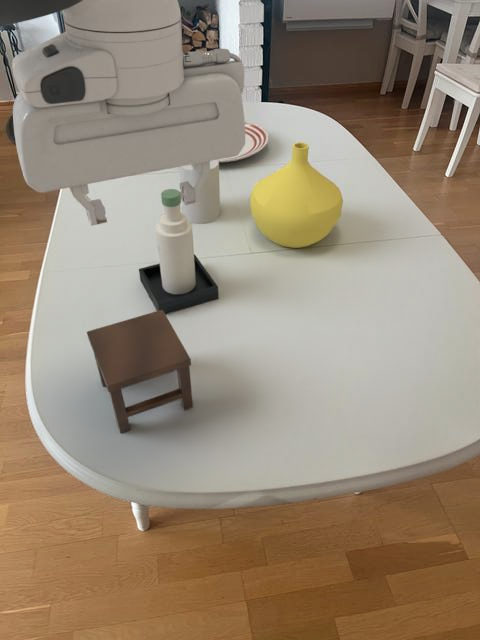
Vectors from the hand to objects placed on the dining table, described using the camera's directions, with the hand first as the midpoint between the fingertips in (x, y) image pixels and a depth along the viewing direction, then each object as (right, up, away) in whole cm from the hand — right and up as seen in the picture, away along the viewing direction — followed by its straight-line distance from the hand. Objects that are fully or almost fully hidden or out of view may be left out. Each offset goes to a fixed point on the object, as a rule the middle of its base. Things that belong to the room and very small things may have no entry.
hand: (145, 211), depth 51 cm
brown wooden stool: (-4, -21, +25) cm, 33 cm away
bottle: (-2, -4, +43) cm, 43 cm away
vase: (+20, +7, +57) cm, 61 cm away
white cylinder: (+1, +13, +63) cm, 65 cm away
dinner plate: (+3, +35, +89) cm, 96 cm away
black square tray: (-2, -5, +43) cm, 44 cm away
